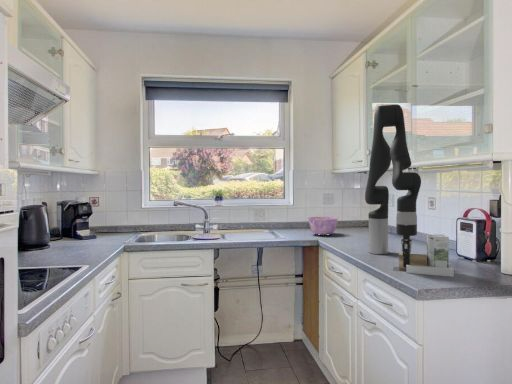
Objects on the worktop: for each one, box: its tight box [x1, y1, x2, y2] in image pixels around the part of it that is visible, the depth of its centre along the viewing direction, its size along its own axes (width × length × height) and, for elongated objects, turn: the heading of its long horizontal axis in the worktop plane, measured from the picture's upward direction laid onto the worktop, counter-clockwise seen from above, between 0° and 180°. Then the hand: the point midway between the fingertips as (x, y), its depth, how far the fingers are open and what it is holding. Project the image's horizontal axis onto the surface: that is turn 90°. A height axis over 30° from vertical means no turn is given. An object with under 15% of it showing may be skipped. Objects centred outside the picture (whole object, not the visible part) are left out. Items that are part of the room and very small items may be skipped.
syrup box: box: [426, 234, 450, 268], centre depth 139 cm, size 6×6×14 cm
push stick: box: [398, 252, 427, 270], centre depth 142 cm, size 3×10×6 cm, turn 65°
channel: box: [392, 262, 455, 278], centre depth 141 cm, size 11×21×3 cm, turn 66°
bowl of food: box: [307, 216, 339, 235], centre depth 245 cm, size 20×20×12 cm
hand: (406, 266), depth 143 cm, fingers closed on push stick, 3 cm apart
